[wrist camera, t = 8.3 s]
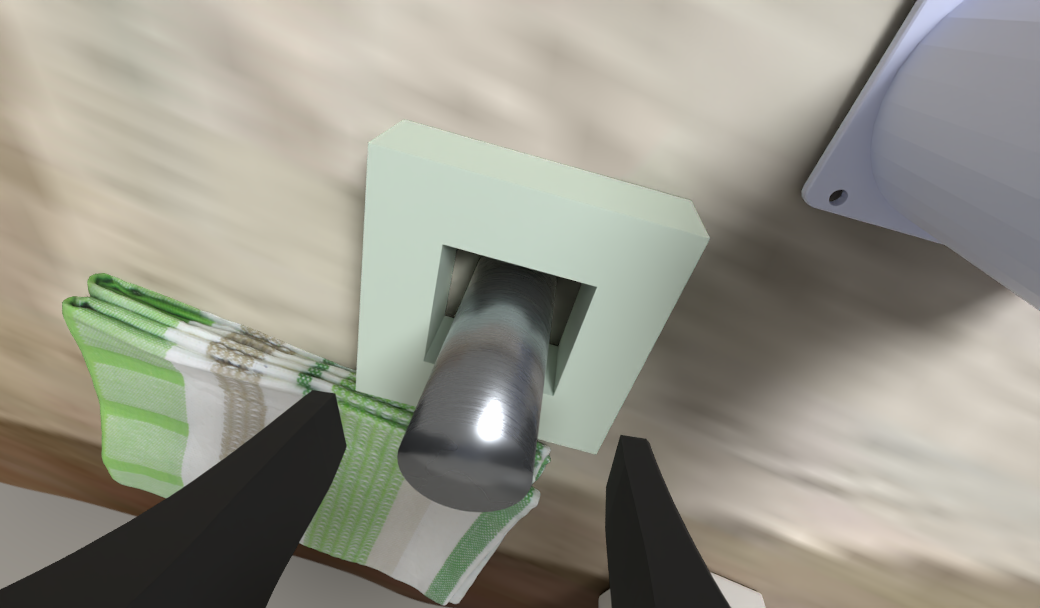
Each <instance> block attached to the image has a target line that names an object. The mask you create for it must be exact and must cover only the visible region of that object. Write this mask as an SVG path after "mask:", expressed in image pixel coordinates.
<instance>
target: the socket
mask: <svg viewBox="0 0 1040 608" xmlns="http://www.w3.org/2000/svg"><path fill="white" fill-rule="evenodd" d="M709 240H710V237H709V235H708V233H707V231H706V229H705V227H704V225H703V223H702V221H701V219H700V217H699V215H698V213H697V211H696V209H695V207H694V205H693V203H692V201H691V200H688V199H684V198H681V197H677V196H674V195H670V194H666V193H663V192H659V191H656V190H652V189H649V188H645V187H642V186H638V185H635V184H631V183H628V182H624V181H620V180H617V179H613V178H610V177H606V176H603V175H599V174H596V173H592V172H589V171H585V170H582V169H578V168H575V167H571V166H567V165H564V164H560V163H557V162H553V161H550V160H546V159H543V158H539V157H536V156H532V155H529V154H525V153H521V152H518V151H514V150H511V149H507V148H504V147H500V146H497V145H493V144H490V143H486V142H483V141H479V140H475V139H472V138H468V137H465V136H461V135H458V134H454V133H451V132H447V131H444V130H440V129H437V128H433V127H429V126H426V125H422V124H419V123H415V122H412V121H408V120H405V119H404V120H402V121H401V122H399V123H398V124H396V125H395V126H393V127H391V128H390V129H388V130H387V131H385V132H384V133H382V134H381V135H379V136H378V137H376V138H374V139H373V140H371V141H370V142H368V157H367V176H366V196H365V215H364V235H363V254H362V274H361V293H360V313H359V332H358V352H357V371H356V391H359V392H363V393H366V394H370V395H374V396H378V397H381V398H385V399H389V400H393V401H396V402H400V403H404V404H408V405H411V406H415V407H416V406H417V404H418V402H419V399H420V397H421V395H422V392H423V390H424V388H425V385H426V383H427V381H428V378H429V376H430V374H431V371H432V369H433V367H434V364H435V362H436V360H437V357H438V355H439V353H440V350H441V348H442V346H443V343H444V341H445V339H446V336H447V334H448V332H449V329H450V327H451V325H452V322H453V320H454V318H452V317H448V316H445V311H446V306H447V301H448V295H449V290H450V284H451V279H452V273H453V268H454V262H455V257H456V251H457V248H458V249H461V250H465V251H469V252H472V253H476V254H480V255H483V256H487V257H490V258H494V259H498V260H501V261H505V262H509V263H512V264H516V265H519V266H523V267H527V268H530V269H534V270H537V271H541V272H545V273H548V274H552V275H556V276H559V277H563V278H566V279H570V280H574V281H577V282H581V283H582V284H581V287H580V290H579V292H578V295H577V298H576V300H575V303H574V306H573V308H572V311H571V314H570V316H569V319H568V322H567V324H566V327H565V330H564V332H563V335H562V338H561V340H560V343H559V346H555V345H551V344H549V349H548V357H547V365H546V373H545V381H544V390H543V398H542V406H541V414H540V423H539V431H538V439H539V440H543V441H547V442H550V443H554V444H558V445H562V446H565V447H569V448H573V449H577V450H580V451H584V452H588V453H592V454H595V455H596V454H597V452H598V450H599V448H600V446H601V444H602V443H603V441H604V439H605V437H606V435H607V433H608V431H609V429H610V427H611V425H612V424H613V422H614V420H615V418H616V416H617V414H618V412H619V410H620V408H621V407H622V405H623V403H624V401H625V399H626V397H627V395H628V393H629V391H630V389H631V388H632V386H633V384H634V382H635V380H636V378H637V376H638V374H639V372H640V371H641V369H642V367H643V365H644V363H645V361H646V359H647V357H648V355H649V353H650V352H651V350H652V348H653V346H654V344H655V342H656V340H657V338H658V336H659V334H660V333H661V331H662V329H663V327H664V325H665V323H666V321H667V319H668V317H669V316H670V314H671V312H672V310H673V308H674V306H675V304H676V302H677V300H678V298H679V297H680V295H681V293H682V291H683V289H684V287H685V285H686V283H687V281H688V280H689V278H690V276H691V274H692V272H693V270H694V268H695V266H696V264H697V262H698V261H699V259H700V257H701V255H702V253H703V251H704V249H705V247H706V245H707V243H708V242H709Z"/></svg>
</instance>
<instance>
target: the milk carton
mask: <svg viewBox="0 0 1040 608" xmlns="http://www.w3.org/2000/svg"><path fill="white" fill-rule="evenodd" d="M710 573H711V575H712V577H713V578H714V580H715V582H716V583H717V585H718V587H719V589H720V590H721V592H722V594H723V595H724V597H725V599H726V600H727V602H728V603H729V605H730V607H731V608H766V607H765V604H764V600H763V597H762V595H761V593H759V592H756V591H754V590H752V589H749V588H747V587H745V586H742V585H740V584H738V583H735V582H733V581H731V580H728V579H726V578H724V577H721V576H719V575H717V574H714V573H712V572H710ZM598 604H599V608H612V606H611V594H610V589H609V590H607V591H606V592H605V593H603V594H602V595H601V596H599V602H598Z"/></svg>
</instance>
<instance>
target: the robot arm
mask: <svg viewBox="0 0 1040 608" xmlns="http://www.w3.org/2000/svg"><path fill="white" fill-rule="evenodd" d="M837 190H842V191H843V192H842V194H841V196H840V197H839V198H838V199H837V200H834V201H829V198H830V195H831V194H832V193H833V192H835V191H837ZM802 198H803V200H804V201H805V202H806V203H807V204H808V205H810V206H811V207H813V208H817V209H820V210H824V211H827V212H831V213H834V214H838V215H841V216H845V217H848V218H852V219H855V220H859V221H862V222H866V223H869V224H873V225H876V226H880V227H884V228H887V229H891V230H894V231H898V232H901V233H905V234H908V235H912V236H915V237H919V238H922V239H926V240H929V241H933V242H936V243H940V244H943V245H946V246H947V247H949V248H950V249H951V250H953V251H954V252H956V253H957V254H959V255H960V256H961V257H963V258H964V259H966V260H967V261H969V262H970V263H971V264H973V265H974V266H976V267H977V268H979V269H980V270H982V271H983V272H984V273H986V274H987V275H989V276H990V277H992V278H993V279H994V280H996V281H997V282H999V283H1000V284H1002V285H1003V286H1004V287H1006V288H1007V289H1009V290H1010V291H1012V292H1013V293H1014V294H1016V295H1017V296H1019V297H1020V298H1022V299H1023V300H1025V301H1026V302H1027V303H1029V304H1030V305H1032V306H1033V307H1035V308H1036V309H1037V310H1039V311H1040V0H917V1H916V3H915V4H914V6H913V8H912V9H911V11H910V13H909V14H908V16H907V17H906V19H905V21H904V22H903V24H902V26H901V27H900V29H899V31H898V32H897V34H896V35H895V37H894V39H893V40H892V42H891V44H890V45H889V47H888V48H887V50H886V52H885V53H884V55H883V57H882V58H881V60H880V62H879V63H878V65H877V66H876V68H875V70H874V71H873V73H872V75H871V76H870V78H869V80H868V81H867V83H866V84H865V86H864V88H863V89H862V91H861V93H860V94H859V96H858V98H857V99H856V101H855V102H854V104H853V106H852V107H851V109H850V111H849V112H848V114H847V116H846V117H845V119H844V120H843V122H842V124H841V125H840V127H839V129H838V130H837V132H836V134H835V135H834V137H833V138H832V140H831V142H830V143H829V145H828V147H827V148H826V150H825V152H824V153H823V155H822V156H821V158H820V160H819V161H818V163H817V165H816V166H815V168H814V170H813V171H812V173H811V174H810V176H809V178H808V179H807V181H806V183H805V184H804V186H803V189H802ZM346 448H347V445H346V440H345V436H344V431H343V426H342V422H341V417H340V413H339V408H338V403H337V399H336V394H335V393H330V392H323V391H316V390H312V391H311V392H309V393H308V394H307V395H305V396H304V397H303V398H301V399H300V400H299V401H298V402H296V403H295V404H294V405H293V406H291V407H290V408H289V409H287V410H286V411H285V412H284V413H282V414H281V415H280V416H279V417H277V418H276V419H275V420H274V421H272V422H271V423H270V424H269V425H267V426H266V427H265V428H263V429H262V430H261V431H260V432H258V433H257V434H256V435H254V436H253V437H252V438H251V439H249V440H248V441H247V442H245V443H244V444H243V445H241V446H240V447H239V448H237V449H236V450H235V451H234V452H232V453H231V454H230V455H228V456H227V457H225V458H224V459H223V460H221V461H220V462H219V463H217V464H216V465H214V466H213V467H212V468H210V469H209V470H207V471H206V472H204V473H203V474H202V475H200V476H199V477H197V478H196V479H195V480H193V481H192V482H190V483H189V484H187V485H186V486H184V487H183V488H181V489H180V490H178V491H177V492H175V493H174V494H172V495H171V496H169V497H168V498H166V499H165V500H163V501H162V502H160V503H158V504H157V505H155V506H154V507H152V508H150V509H149V510H147V511H146V512H144V513H142V514H141V515H139V516H137V517H136V518H134V519H132V520H131V521H129V522H127V523H126V524H124V525H122V526H120V527H119V528H117V529H115V530H113V531H112V532H110V533H108V534H106V535H105V536H102V537H101V538H99V539H97V540H95V541H94V542H92V543H90V544H88V545H86V546H85V547H83V548H81V549H79V550H77V551H76V552H74V553H72V554H70V555H68V556H66V557H65V558H63V559H61V560H59V561H57V562H55V563H53V564H51V565H49V566H47V567H45V568H43V569H41V570H39V571H37V572H35V573H33V574H31V575H29V576H27V577H25V578H23V579H21V580H19V581H17V582H15V583H13V584H11V585H9V586H7V587H5V588H3V589H1V590H0V608H266V606H267V603H268V601H269V599H270V597H271V594H272V592H273V590H274V588H275V586H276V584H277V582H278V580H279V578H280V576H281V575H282V573H283V571H284V569H285V567H286V565H287V564H288V562H289V560H290V558H291V556H292V555H293V553H294V551H295V549H296V548H297V546H298V544H299V542H300V540H301V539H302V537H303V535H304V533H305V531H306V530H307V528H308V526H309V524H310V523H311V521H312V519H313V517H314V515H315V514H316V512H317V510H318V508H319V506H320V505H321V503H322V501H323V499H324V497H325V496H326V494H327V492H328V490H329V488H330V486H331V484H332V482H333V480H334V477H335V475H336V473H337V470H338V468H339V465H340V463H341V460H342V458H343V455H344V453H345V450H346ZM605 532H606V545H607V557H608V570H609V582H610V594H611V606H612V608H731V607H730V605H729V603H728V602H727V600H726V599H725V597H724V595H723V594H722V592H721V590H720V589H719V587H718V585H717V583H716V582H715V580H714V578H713V577H712V575H711V573H710V571H709V570H708V568H707V566H706V564H705V562H704V561H703V559H702V557H701V555H700V553H699V551H698V550H697V548H696V546H695V544H694V542H693V540H692V538H691V536H690V534H689V532H688V530H687V528H686V526H685V524H684V522H683V520H682V518H681V516H680V514H679V512H678V510H677V508H676V506H675V504H674V502H673V499H672V497H671V495H670V493H669V491H668V488H667V486H666V484H665V481H664V479H663V477H662V474H661V472H660V470H659V467H658V465H657V462H656V460H655V457H654V454H653V452H652V449H651V446H650V443H649V442H648V441H647V439H644V438H637V437H630V436H623V435H620V439H619V442H618V446H617V450H616V453H615V457H614V461H613V464H612V468H611V471H610V475H609V479H608V482H607V486H606V518H605Z"/></svg>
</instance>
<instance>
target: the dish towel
mask: <svg viewBox="0 0 1040 608" xmlns="http://www.w3.org/2000/svg"><path fill="white" fill-rule="evenodd" d="M87 283H88V290H89V293H90V296H91V297H77V296H73V297H69V298H67V299H65V300H64V301H63V302H62V314H63V317H64V319H65V321H66V324H67V326H68V328H69V330H70V332H71V334H72V336H73V337H74V339H75V341H76V342H77V344H78V346H79V348H80V350H81V352H82V355H83V357H84V359H85V362H86V365H87V368H88V370H89V372H90V375H91V377H92V380H93V384H94V388H95V390H96V393H97V396H98V399H99V403H100V414H101V429H102V460H103V462H104V464H105V466H106V467H107V469H108V471H109V473H110V475H111V477H112V478H113V479H114V480H115V481H117V482H118V483H120V484H123V485H126V486H130V487H135V488H139V489H142V490H145V491H148V492H151V493H154V494H156V495H159V496H162V497H164V498H168V497H169V496H171V495H172V494H174V493H175V492H177V491H178V490H180V489H181V488H183V487H184V486H186V485H187V484H189V483H190V482H192V481H193V480H195V479H196V478H197V477H199V476H200V475H202V474H203V473H204V472H206V471H207V470H209V469H210V468H212V467H213V466H214V465H216V464H217V463H219V462H220V461H221V460H223V459H224V458H225V457H227V456H228V455H230V454H231V453H232V452H234V451H235V450H236V449H237V448H239V447H240V446H241V445H243V444H244V443H245V442H247V441H248V440H249V439H251V438H252V437H253V436H254V435H256V434H257V433H258V432H260V431H261V430H262V429H263V428H265V427H266V426H267V425H269V424H270V423H271V422H272V421H274V420H275V419H276V418H277V417H279V416H280V415H281V414H282V413H284V412H285V411H286V410H287V409H289V408H290V407H291V406H293V405H294V404H295V403H296V402H298V401H299V400H300V399H301V398H303V397H304V396H305V395H307V394H308V393H309V392H311V391H312V390H316V391H323V392H330V393H335V394H336V399H337V403H338V408H339V413H340V417H341V422H342V426H343V431H344V436H345V440H346V445H347V448H346V450H345V453H344V455H343V458H342V460H341V463H340V465H339V468H338V470H337V473H336V475H335V477H334V480H333V482H332V484H331V486H330V488H329V490H328V492H327V494H326V496H325V497H324V499H323V501H322V503H321V505H320V506H319V508H318V510H317V512H316V514H315V515H314V517H313V519H312V521H311V523H310V524H309V526H308V528H307V530H306V531H305V533H304V535H303V537H302V539H301V540H300V542H299V543H300V544H302V545H304V546H307V547H309V548H313V549H316V550H318V551H320V552H324V553H326V554H329V555H330V556H333V557H338V558H341V559H342V560H347V561H351V562H357V563H358V564H361V565H365V566H369V567H372V568H374V569H377V570H379V571H381V572H383V573H385V574H387V575H389V576H391V577H392V578H394V579H396V580H399V581H402V582H404V583H406V584H409V585H411V586H412V587H414V588H416V589H418V590H419V591H420V592H421V593H423V594H424V595H425V596H427V597H429V598H430V599H432V600H433V601H435V602H437V603H439V604H441V605H446V604H447V603H448V602H451V603H453V604H457V603H459V602H460V600H461V599H462V598H463V597H464V596H465V594H466V592H467V590H468V589H469V587H470V586H471V585H472V584H473V582H474V580H475V579H476V577H477V575H478V574H479V573H480V571H481V570H482V568H483V567H484V566H485V565H486V563H487V562H488V560H489V559H490V557H491V556H492V555H493V553H494V552H495V550H496V549H497V547H498V546H499V544H500V543H501V542H502V540H503V538H504V537H505V535H506V534H507V532H508V531H509V530H510V529H511V528H512V527H513V526H514V525H515V524H516V523H517V522H518V521H519V520H520V519H521V518H522V517H524V516H526V515H527V514H528V513H529V511H530V510H531V509H533V508H535V507H536V506H537V505H538V502H539V499H540V492H539V491H538V490H537V489H535V488H534V487H532V485H531V488H530V490H529V492H528V493H527V495H526V496H525V497H524V498H523V499H522V500H521V501H520V502H518V503H517V504H515V505H513V506H511V507H508V508H506V509H502V510H499V511H493V512H467V511H461V510H457V509H453V508H449V507H446V506H443V505H441V504H438V503H436V502H434V501H432V500H430V499H428V498H426V497H425V496H423V495H422V494H420V493H419V492H418V491H416V490H415V489H414V488H413V487H412V486H411V485H410V484H409V483H408V482H407V481H406V479H405V478H404V476H403V475H402V473H401V471H400V469H399V466H398V461H397V454H398V449H399V446H400V444H401V441H402V439H403V437H404V434H405V432H406V430H407V427H408V425H409V423H410V420H411V418H412V416H413V413H414V411H415V409H416V407H415V406H411V405H408V404H404V403H400V402H396V401H393V400H389V399H385V398H381V397H378V396H374V395H370V394H366V393H363V392H359V391H356V370H353V369H349V368H346V367H343V366H340V365H338V364H336V363H334V362H331V361H329V360H326V359H324V358H322V357H320V356H317V355H314V354H311V353H308V352H306V351H304V350H301V349H299V348H297V347H294V346H292V345H290V344H287V343H285V342H283V341H281V340H278V339H276V338H274V337H271V336H268V335H266V334H264V333H261V332H259V331H256V330H253V329H251V328H248V327H246V326H244V325H241V324H238V323H235V322H231V321H228V320H225V319H223V318H220V317H218V316H216V315H214V314H212V313H209V312H205V311H201V310H199V309H197V308H194V307H192V306H189V305H187V304H184V303H182V302H179V301H177V300H174V299H172V298H169V297H167V296H164V295H162V294H159V293H156V292H153V291H151V290H148V289H145V288H143V287H140V286H137V285H135V284H131V283H127V282H125V281H123V280H121V279H118V278H116V277H113V276H110V275H108V274H105V273H101V274H94V275H92V276H90V277H89V279H88V281H87ZM550 451H551V449H550V447H549V446H545V445H543V444H541V443H539V442H537V447H536V456H535V464H534V472H533V480H532V484H533V483H534V482H535V481H536V480H537V479H538V478H539V477H540V475H541V474H542V473H543V471H544V469H545V466H546V464H548V463H550V461H551V458H550V456H549V455H548V454H549V453H550Z"/></svg>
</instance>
